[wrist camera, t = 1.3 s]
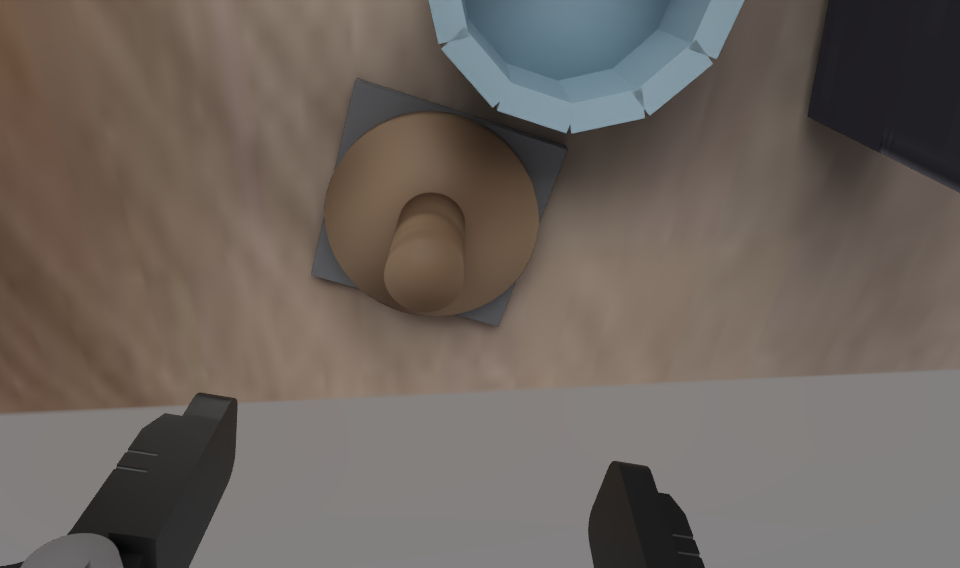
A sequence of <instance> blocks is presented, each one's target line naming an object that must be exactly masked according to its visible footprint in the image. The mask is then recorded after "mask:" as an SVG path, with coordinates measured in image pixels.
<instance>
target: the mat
mask: <svg viewBox="0 0 960 568" xmlns="http://www.w3.org/2000/svg"><path fill="white" fill-rule="evenodd" d="M419 111H440V112H448V113H453V114H457V115H461V116H465V117H467V118H470V119H472V120H475V121H477V122H479V123H481V124H483V125H485V126H486V127H488V128H490V129H491V130H493V131H494V132H495V133H497V134H498V135H499V136H501V137H502V138H503V139H504V140H505V141H506V142H507V143H508V144H509V145H510V146H511V147H512V148H513V149H514V151H515V152H516V153H517V155H518V156H519V157H520V158H521V160H522V162H523V164H524V165H525V167H526V169H527V171H528V173H529V176H530V178H531V181H532V184H533V188H534V192H535V196H536V200H537V204H538V214H539V221H540V219H541V216H542V214H543V211H544V209H545V206H546V204H547V201H548V199H549V196H550V193H551V191H552V188H553V186H554V183H555V181H556V178H557V176H558V173H559V171H560V168H561V166H562V163H563V160H564V158H565V155H566V153H567V150H568V149H567V147H566V146H565V145H562V144H559V143H555V142H552V141H549V140H546V139H543V138H540V137H537V136H534V135H531V134H528V133H525V132H522V131H518V130H515V129H512V128H509V127H506V126H503V125H500V124H497V123H494V122H491V121H488V120H485V119H482V118H478V117H475V116H472V115H469V114H466V113H463V112H460V111H457V110H454V109H451V108H448V107H445V106H441V105H438V104H435V103H432V102H429V101H426V100H423V99H420V98H417V97H414V96H411V95H408V94H404V93H401V92H398V91H395V90H392V89H389V88H386V87H383V86H380V85H377V84H374V83H371V82H367V81H364V80H361V79H358V78H357V79H356V80H355V83H354V88H353V92H352V97H351V101H350V105H349V110H348V114H347V119H346V123H345V127H344V132H343V136H342V141H341V145H340V149H339V154H338V158H337V163H336V167H335V170H336V168H337V166H338V164H339V163H340V161H341V160H342V158H343V157H344V155H345V154H346V152H347V151H348V149H349V148H350V147H351V146H352V145H353V144H354V143H355V141H356V140H357V139H358V138H360V137H361V136H362V135H363V134H364V133H366V132H367V131H368V130H370V129H371V128H373V127H374V126H376V125H378V124H379V123H381V122H383V121H386V120H388V119H390V118H392V117H396V116H399V115H403V114H406V113H412V112H419ZM334 172H335V171H334ZM311 275H312V276H315V277H319V278H323V279H326V280H330V281H334V282H337V283H341V284H345V285H348V286H352V287H355V288H359V287H358V286H357V285H356V284H355V283H354V282H353V281H352V280H351V279H350V278H349V277H348V276H347V274H346V273H345V272H344V271H343V269H342V268H341V266H340V265H339V263H338V261H337V259H336V258H335V256H334V254H333V251H332V249H331V246H330V244H329V240H328V237H327V233H326V226H325V215H324V220H323V224H322V229H321V233H320V237H319V242H318V246H317V251H316V255H315V259H314V264H313V268H312V273H311ZM515 282H516V281H515ZM515 282H514V283H513V284H512V285H511V286H510V287H509V288H508V289H507V290H506V291H505V292H503V293H502V294H501V295H499V296H498V297H497V298H495V299H494V300H492V301H490V302H489V303H487V304H485V305H483V306H481V307H478V308H476V309H473V310H470V311H468V312H463V313H459V314H455V315H458V316H461V317H465V318H468V319H472V320H476V321H479V322H483V323H487V324H490V325H494V326H499V323H500V320H501V318H502V315H503V313H504V310H505V308H506V305H507V303H508V300H509V298H510V295H511V293H512V290H513V287H514V285H515ZM359 289H360V288H359Z"/></svg>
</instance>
